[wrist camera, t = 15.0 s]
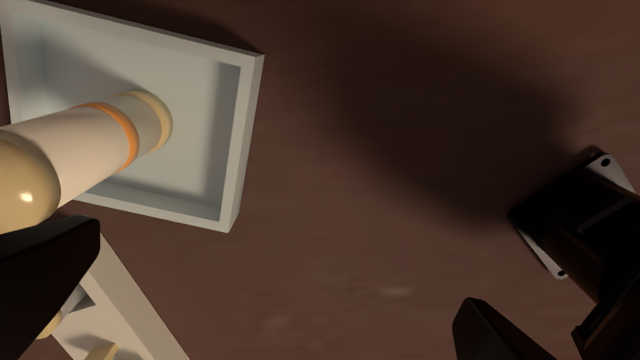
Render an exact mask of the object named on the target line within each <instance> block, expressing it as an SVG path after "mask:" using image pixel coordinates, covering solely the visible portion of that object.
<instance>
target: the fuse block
mask: <svg viewBox="0 0 640 360" xmlns="http://www.w3.org/2000/svg"><path fill="white" fill-rule="evenodd" d="M100 244H101V247H100V252H99V255H98V257H97V258H96V260H95V261H94V263H93V264H92V266H91V267H90V268H89V270H88V271H87V273H86V274H85V275H84V277H83V278H82V280H81V281H80V285H81V286H82V287H83V288H84V290H85V291H86V292H87V294H86V295H85V296H84V297H83V298H82V299H81V301H80V302H79V303H78V304H77V305H76V306H75V307H74V308H73V309H72V310H71V311H70V312H69V313H68V314H67V315H66V316H65V318H64V319H63V320H62V321H61V323H60V324H59V325H58V326H57V327H56V328H55V329H54V330H53V332H52V333H51V334H52V335H53V336H54V337H55V338H56V340H57V341H58V342H59V343H60V344H61V345H62V347H63V348H64V349H65V350H66V351H67V352H68V353H69V355H70V356H71V357H72V358H73V359H74V360H190V359H189V358H188V356H187V355H186V354H185V352H184V351H183V349H182V348H181V347H180V345H179V344H178V342H177V341H176V339H175V338H174V337H173V335H172V334H171V332H170V331H169V329H168V328H167V327H166V325H165V324H164V322H163V321H162V319H161V318H160V317H159V315H158V314H157V312H156V311H155V309H154V308H153V307H152V305H151V304H150V302H149V301H148V300H147V298H146V297H145V295H144V294H143V292H142V291H141V290H140V288H139V287H138V285H137V284H136V282H135V281H134V280H133V278H132V277H131V275H130V274H129V272H128V271H127V270H126V268H125V267H124V265H123V264H122V263H121V261H120V260H119V258H118V257H117V255H116V254H115V253H114V251H113V250H112V248H111V247H110V245H109V244H108V243H107V241H106V240H105V238H104V237H103V235H102V234H101V233H100Z"/></svg>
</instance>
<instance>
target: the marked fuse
mask: <svg viewBox="0 0 640 360" xmlns="http://www.w3.org/2000/svg"><path fill="white" fill-rule="evenodd" d="M172 131H173V119H172V116H171V113H170V111H169V109H168V107H167V106H166V104H165V103H164V102H163V101H162V100H161V99H160V98H158V97H157V96H156V95H154V94H152V93H150V92H147V91H144V90H130V91H126V92H122V93H119V94H115V95H113V96H111V97H110V98H108V99H104V100H100V101H97V102H89V103H84V104H81V105H77V106H73V107H71V108H69V109H67V110H63V111H59V112H55V113H52V114H48V115H44V116H40V117H37V118H33V119H29V120H25V121H22V122H18V123H14V124H10V125H7V126H3V127H0V234H3V233H7V232H11V231H15V230H19V229H23V228H27V227H31V226H35V225H37V224H39V223H41V222H42V221H44V220H45V219H47V218H48V217H50V216H51V215H52V214H53V213H54V212H55V211H56V209H57V208H59V207H61V206H62V205H64V204H65V203H67V202H69V201H70V200H72V199H73V198H75V197H77V196H78V195H80V194H82V193H83V192H85V191H86V190H88V189H90V188H91V187H93V186H94V185H96V184H98V183H99V182H101V181H103V180H104V179H106V178H107V177H109V176H111V175H113V174H115V173H117V172H119V171H121V170H122V169H124V168H126V167H127V166H129V165H130V164H131V163H132V162H133V161H135V160H136V159H138V158H140V157H141V156H143V155H146V154H149V153H151V152H153V151H155V150H156V149H158V148H159V147H161V146H162V145H164V144H165V143H166V142H167V141H168V140H169V139H170V137H171V134H172Z"/></svg>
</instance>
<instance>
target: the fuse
mask: <svg viewBox="0 0 640 360" xmlns="http://www.w3.org/2000/svg"><path fill="white" fill-rule="evenodd" d="M86 294H87V292H86V291H85V290H84V288H83V287H82V286H81V285H80V283H79V284H78V285H77V287H76V288H75V290H74V291H73V292H72V294H71V295H70V297H69V298H68V300H67V301H66V302H65V304H64V305H63V306H62V308H61V309H60V310H59V312H58V313H57V314H56V316H55V317H54V318H53V319H52V320H51V322H50V323H49V324H48V325H47V326H46V327H45V329H44V330H43V331H42V332H41V333H40V334H39V336H38V337H37V338H36V339H42V338H45V337H47V336H49V335H50V334H51V333H52V332H53V330H54V329H55V328H56V327H57V326H58V325H59V324H60V323H61V321H62V320H63V319H64V318H65V316H66V315H67V314H68V313H69V312H70V311H71V310H72V309H73V308H74V307H75V306H76V305H77V304H78V303H79V302H80V301H81V299H82V298H83V297H84V296H85V295H86Z"/></svg>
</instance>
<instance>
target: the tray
mask: <svg viewBox="0 0 640 360" xmlns="http://www.w3.org/2000/svg"><path fill="white" fill-rule="evenodd" d="M0 27H1V36H2V45H3V54H4V63H5V72H6V81H7V89H8V98H9V107H10V116H11V124H14V123H18V122H22V121H25V120H29V119H33V118H37V117H40V116H44V115H48V114H52V113H55V112H59V111H63V110H67V109H69V108H71V107H73V106H77V105H81V104H84V103H89V102H97V101H100V100H104V99H108V98H110V97H111V96H113V95H115V94H119V93H122V92H126V91H130V90H144V91H147V92H150V93H152V94H154V95H156V96H157V97H158V98H160V99H161V100H162V101H163V102H164V103H165V104H166V106H167V107H168V109H169V111H170V113H171V116H172V119H173V131H172V134H171V137H170V139H169V140H168V141H167V142H166V143H165V144H164V145H162V146H161V147H159V148H158V149H156V150H155V151H153V152H151V153H149V154H146V155H143V156H141V157H140V158H138V159H136V160H135V161H133V162H132V163H131V164H130V165H129V166H127V167H126V168H124V169H122V170H121V171H119V172H117V173H115V174H113V175H111V176H109V177H107V178H106V179H104V180H103V181H101V182H99V183H98V184H96V185H94V186H93V187H91V188H90V189H88V190H86V191H85V192H83V193H82V194H80V195H78V196H77V197H75V198H73V199H74V200H79V201H83V202H88V203H92V204H97V205H102V206H106V207H111V208H115V209H120V210H125V211H129V212H134V213H138V214H143V215H148V216H152V217H157V218H161V219H166V220H171V221H175V222H180V223H184V224H189V225H194V226H198V227H203V228H207V229H212V230H217V231H221V232H226V233H228V232H229V230H230V229H231V227H232V225H233V223H234V221H235V219H236V217H237V215H238V213H239V208H240V202H241V196H242V190H243V184H244V178H245V172H246V166H247V160H248V153H249V147H250V141H251V135H252V129H253V123H254V117H255V111H256V105H257V98H258V92H259V86H260V80H261V74H262V68H263V62H264V56H265V55H263V54H259V53H255V52H251V51H247V50H243V49H239V48H235V47H231V46H227V45H223V44H219V43H215V42H211V41H207V40H203V39H199V38H195V37H191V36H187V35H183V34H179V33H175V32H171V31H167V30H163V29H159V28H155V27H151V26H147V25H143V24H139V23H135V22H131V21H127V20H123V19H119V18H115V17H111V16H107V15H103V14H99V13H95V12H91V11H87V10H83V9H79V8H75V7H71V6H67V5H63V4H59V3H55V2H51V1H47V0H0Z"/></svg>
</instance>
